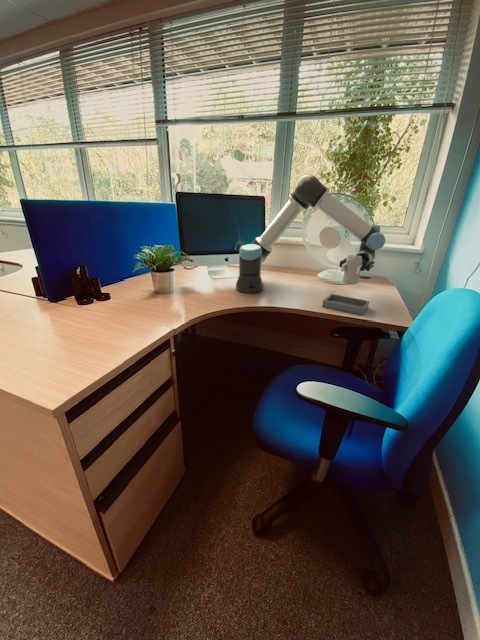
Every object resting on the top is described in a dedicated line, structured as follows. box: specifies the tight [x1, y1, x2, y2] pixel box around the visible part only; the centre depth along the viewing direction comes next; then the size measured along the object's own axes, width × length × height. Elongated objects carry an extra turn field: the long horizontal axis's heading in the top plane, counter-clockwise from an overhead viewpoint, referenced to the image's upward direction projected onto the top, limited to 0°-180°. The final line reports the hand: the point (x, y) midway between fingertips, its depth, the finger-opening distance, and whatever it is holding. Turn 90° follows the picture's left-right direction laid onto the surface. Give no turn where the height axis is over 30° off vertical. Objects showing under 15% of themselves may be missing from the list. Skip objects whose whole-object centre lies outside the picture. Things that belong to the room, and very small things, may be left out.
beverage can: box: [342, 254, 362, 286], centre depth 116 cm, size 6×6×12 cm
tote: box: [321, 293, 370, 317], centre depth 123 cm, size 18×12×3 cm, turn 55°
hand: (349, 269), depth 112 cm, fingers closed on beverage can, 5 cm apart
